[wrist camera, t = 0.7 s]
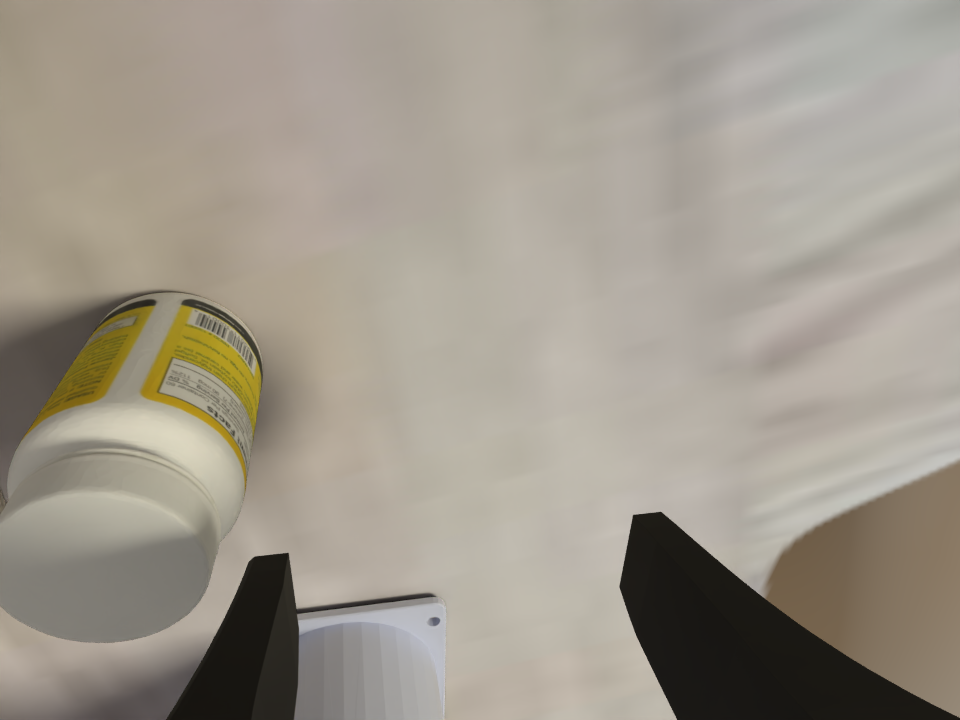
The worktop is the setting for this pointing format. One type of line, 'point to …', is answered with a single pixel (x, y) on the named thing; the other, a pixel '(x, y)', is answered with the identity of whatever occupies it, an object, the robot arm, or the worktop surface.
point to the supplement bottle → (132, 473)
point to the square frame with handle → (2, 502)
